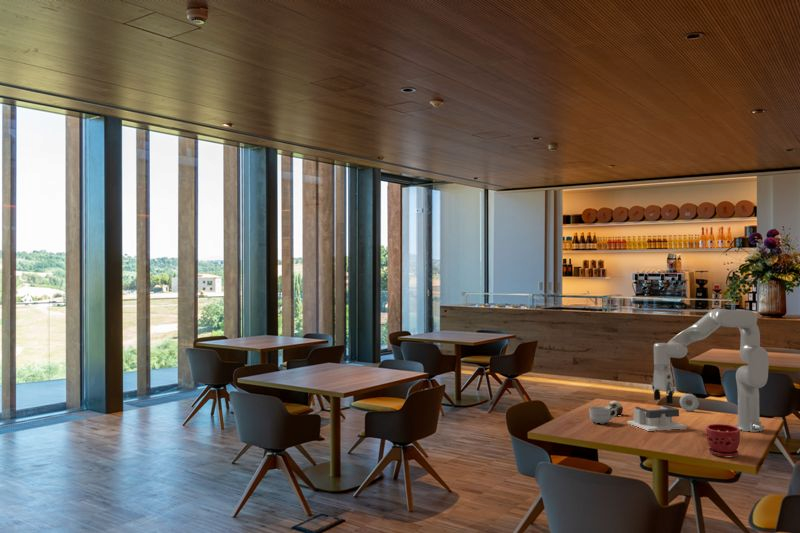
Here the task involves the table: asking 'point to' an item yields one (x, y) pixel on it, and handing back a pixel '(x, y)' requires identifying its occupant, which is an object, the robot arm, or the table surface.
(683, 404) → the donut
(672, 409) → the glasses
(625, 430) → the table surface
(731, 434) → the plant pot
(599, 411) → the teacup
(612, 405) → the skull
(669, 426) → the white block structure
